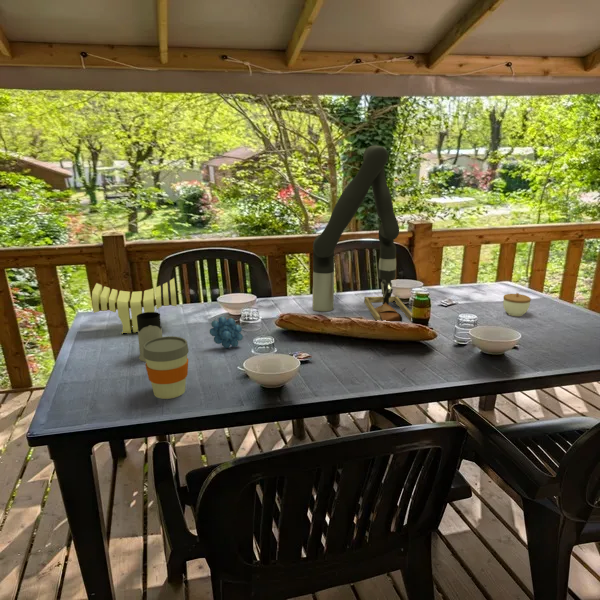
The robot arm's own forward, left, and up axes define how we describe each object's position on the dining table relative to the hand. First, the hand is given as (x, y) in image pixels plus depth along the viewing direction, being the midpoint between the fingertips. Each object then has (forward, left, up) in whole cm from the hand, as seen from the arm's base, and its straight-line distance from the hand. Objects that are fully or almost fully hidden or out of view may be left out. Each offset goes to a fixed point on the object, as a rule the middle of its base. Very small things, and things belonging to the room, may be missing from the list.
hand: (385, 305), depth 221 cm
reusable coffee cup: (-81, -77, -1) cm, 112 cm away
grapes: (-67, -45, -1) cm, 81 cm away
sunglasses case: (-2, -11, -2) cm, 11 cm away
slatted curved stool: (-104, -21, -1) cm, 106 cm away
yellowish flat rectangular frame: (0, -6, -1) cm, 6 cm away
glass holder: (-93, -48, -1) cm, 105 cm away
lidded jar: (+54, -13, -1) cm, 55 cm away
